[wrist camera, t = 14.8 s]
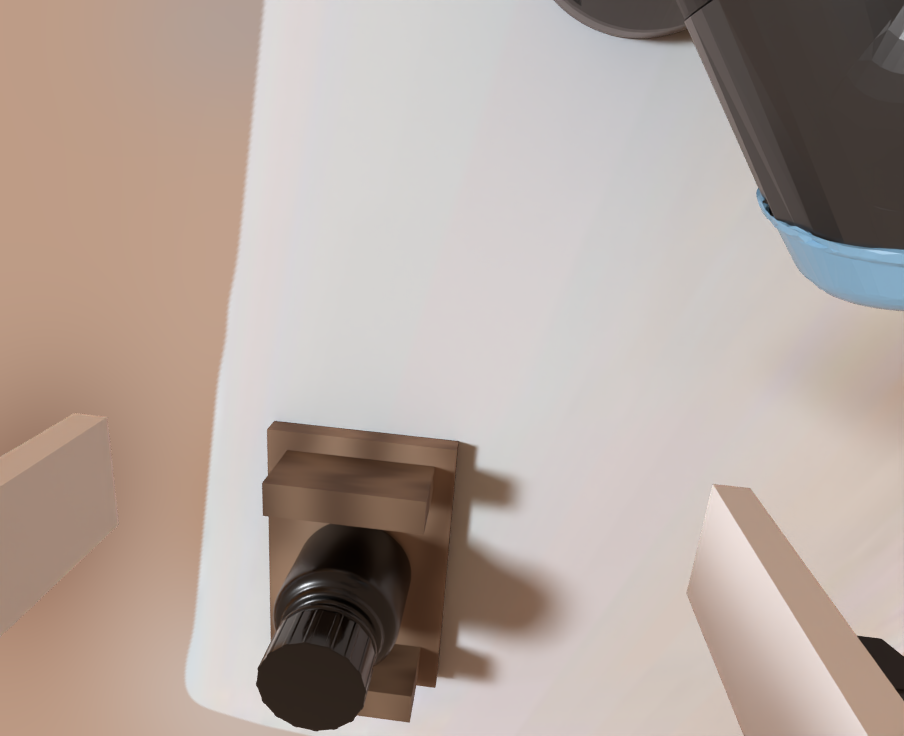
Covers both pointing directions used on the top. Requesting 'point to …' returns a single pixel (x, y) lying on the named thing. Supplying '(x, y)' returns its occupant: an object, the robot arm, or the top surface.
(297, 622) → the ink bottle
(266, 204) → the top surface
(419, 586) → the cradle
